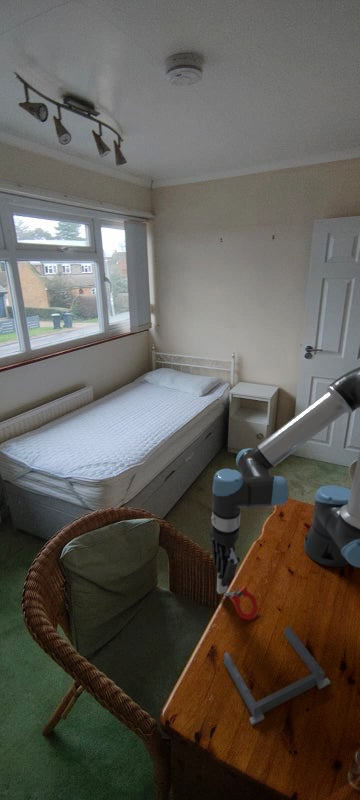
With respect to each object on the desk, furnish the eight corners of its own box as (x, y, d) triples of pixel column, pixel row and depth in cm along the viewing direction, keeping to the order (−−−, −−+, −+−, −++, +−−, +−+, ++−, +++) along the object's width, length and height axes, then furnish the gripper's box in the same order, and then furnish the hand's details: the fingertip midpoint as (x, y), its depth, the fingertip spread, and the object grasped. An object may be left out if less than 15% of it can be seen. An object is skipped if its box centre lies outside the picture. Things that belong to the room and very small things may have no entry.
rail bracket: (290, 632, 99) (291, 624, 98) (329, 684, 87) (331, 675, 86) (220, 664, 91) (220, 655, 90) (252, 725, 79) (252, 716, 78)
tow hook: (246, 625, 100) (231, 599, 102) (227, 623, 109) (213, 600, 110) (262, 608, 104) (247, 584, 106) (242, 608, 113) (228, 585, 114)
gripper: (202, 513, 106) (200, 578, 114) (224, 543, 94) (221, 613, 103) (225, 507, 108) (222, 571, 117) (250, 535, 97) (244, 604, 105)
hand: (221, 590), depth 110 cm, fingers closed
